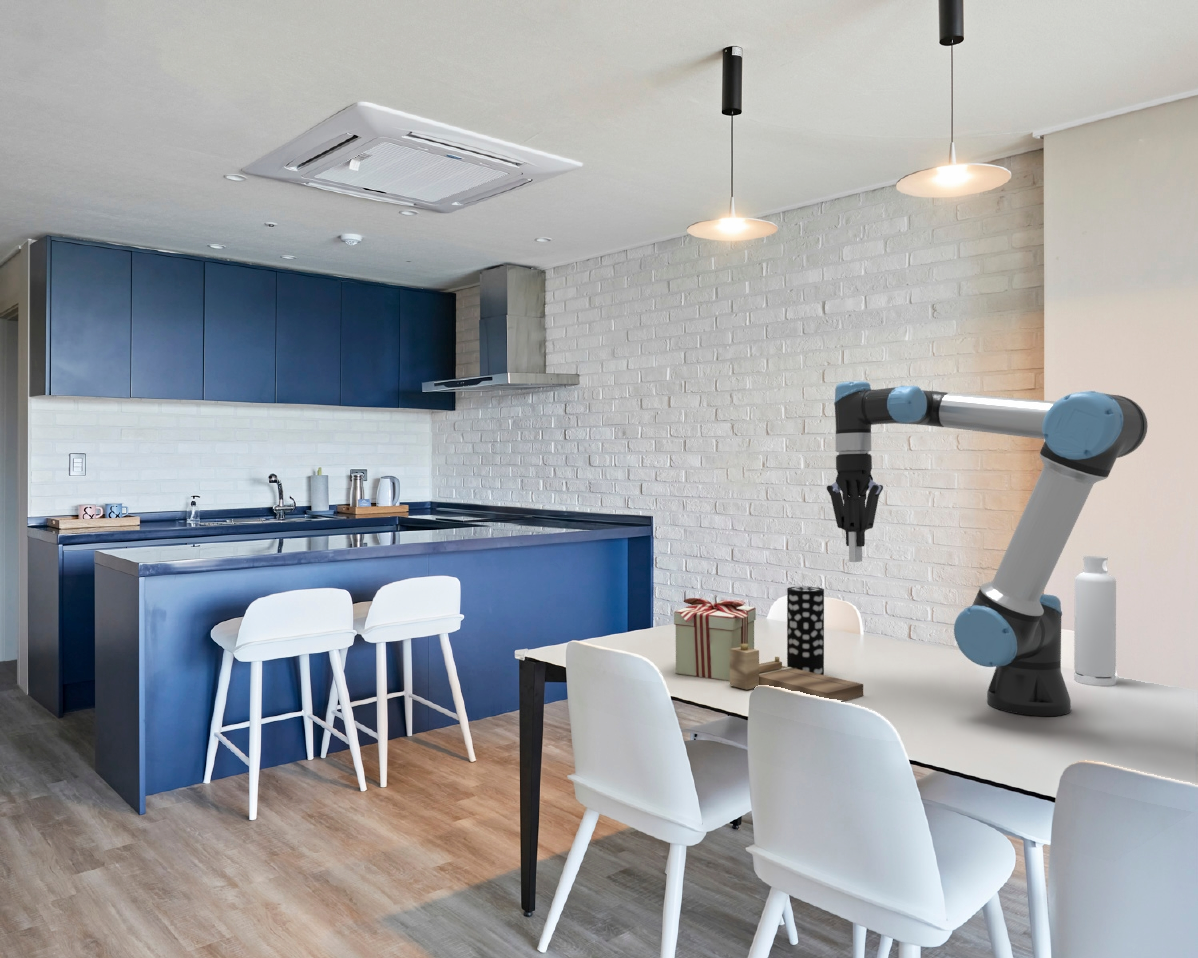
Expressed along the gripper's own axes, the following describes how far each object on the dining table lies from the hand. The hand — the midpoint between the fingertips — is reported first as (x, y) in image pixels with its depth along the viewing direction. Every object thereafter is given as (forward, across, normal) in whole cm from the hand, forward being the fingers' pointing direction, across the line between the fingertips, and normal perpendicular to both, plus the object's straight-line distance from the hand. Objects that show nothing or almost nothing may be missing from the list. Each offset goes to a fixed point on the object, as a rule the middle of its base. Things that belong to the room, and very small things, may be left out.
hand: (855, 561), depth 193 cm
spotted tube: (+28, +15, -2) cm, 32 cm away
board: (+28, +9, +10) cm, 30 cm away
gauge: (+27, +17, +13) cm, 34 cm away
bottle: (+29, -31, -45) cm, 62 cm away
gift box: (+27, +30, +12) cm, 43 cm away
